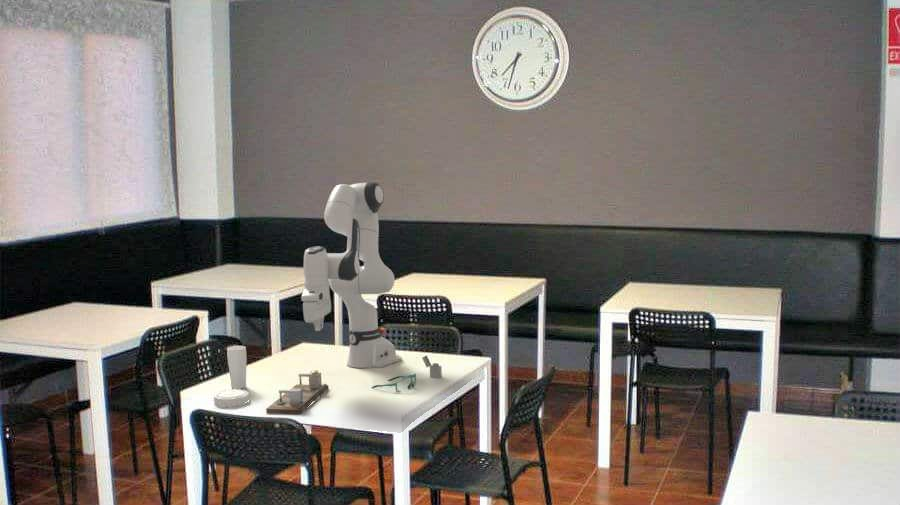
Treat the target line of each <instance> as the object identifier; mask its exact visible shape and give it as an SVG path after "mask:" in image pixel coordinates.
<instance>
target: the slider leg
mask: <svg viewBox="0 0 900 505" xmlns="http://www.w3.org/2000/svg"><path fill="white" fill-rule="evenodd" d="M310 371H311V370H310ZM302 377H308V385H309V388H320V387H321V386H322V385H323V383H322V372H319V370H312V371H311V372H310V373H298V378H299V384H300V385H303V383H302V382H303V381H302Z"/></svg>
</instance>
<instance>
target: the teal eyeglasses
mask: <svg viewBox="0 0 900 505" xmlns="http://www.w3.org/2000/svg"><path fill="white" fill-rule="evenodd" d="M416 375H417V374H416V373H414V374H407V375H398V376H395V377H392V378H389V379H387V382H390V381H393V380H394V381H395V380H397V379H400V380H398V381H395V382H392V383H385V384H375V385H373V386H371V388H372V389H375V388H383V387H394V388H395V392H396V393H400V392H401V390H398V383H399V382H402V381H404V380H407V379H409V378H410V382H409V384H408V385H407V389H408V390H411V388H415V386H417V384H416V382H417V376H416ZM413 378H414V380H413ZM413 381H414V382H413Z"/></svg>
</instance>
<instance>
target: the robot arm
mask: <svg viewBox="0 0 900 505" xmlns="http://www.w3.org/2000/svg"><path fill="white" fill-rule="evenodd" d="M383 202H384V190H383V188H382V186H381V185H380V184H379V183H378V182H374V181H367V182H356V183H353V184H346V183H342V184H341V183H340V184H337V185H336V186H335V187H334V188H333V189H332V190H331V192H330V194H329V197H328V199H327V202H326V206H325V209H324V214H323V219H324V222H325V224H326V226H327V227H328V228H329V229H330V230H331V231H332V232H335V233H337V234H340V235H343V236H345V237H347V241H346V251H344V252H341V253H339V252H338V253H337V252H336V253H335V252H333V253H332V252H331V253H330V252H327V249H326V248H325V247H324V246H320V245H318V246H312V247H311V246H310V247H309V248H308V247H307V249H305V250H304V254H303V274H304V279H305V280H304V290H303V292H302V294H301V296H300V298H301V299H300V300H301V301H302V302H303V303H302V312H303V320H304V321H305V323H308V324H313V325H314V331H315V332H320V331H321V330H322V329H323V328H324V320H325V316H327V315H328V314H330V313H331V311H332V300H331V295H330V289H331V290H332V292H333V293H335V294H336V295H338V296H339V297H340V298H341V300H342V301H343V303H344V305H345V307H346V309H347V314H348V323H349V328H348V340H349V349H348V350H349V351H348V359H347V364H346V365H347V367H348V366H349V367H352V368H357V369H358V368H360V369H364V368H365V369H368V368H377V369H378V368H382V367H385V366H388V365H391V364H394V363H396V362H398V361H402V360H403V359H402V358H403V357H402V356H401V355H399V354H397V353H396V348H395V345H394V344H393V343H392V342H391V341H390V340H388V339H386V338H385V337H383V335H382V334H386V332H387V329H386V328H384V327H381V328H380V327H378V326H379V323H378V310H377V308H376V307H375V306H374V304H372V303H369V302H368V301H366V300H365V299H364V297H363V295H380V294H385V293H386V294H387V293H389V292H391V291H392V289H393V287H394V286H395V280H396V279H395V274H394V273H393V271H392V269H390V268H389V267H388V266H387V265H385V264H384V262H383V260H382V258H381V257H380V252H379V230H380V228H379V227H380V225H379V216H378V212H379V211H380V208H381V206H382V204H383ZM360 261H362V262H363V265H360Z"/></svg>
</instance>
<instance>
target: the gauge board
mask: <svg viewBox="0 0 900 505" xmlns="http://www.w3.org/2000/svg"><path fill="white" fill-rule="evenodd" d="M291 389H302V390H303V401H305V400H306V399H307V398H308V397H309V396H310V395H311V394H313V393H314V392H315V391H316V390H317V389H318V388H309V384H302V385H300V383H299V384H295V385H294V386H292V388H290V389H289V390H291ZM328 390H329V385H328V384H327V386H326V387H325V388H324V389H323V390H321V391H320V392H319V393H318V394H317V395H316V396H315V397H314V398H312V399H311V400H310V401H309V402H308V403H307V404H306V405H305V406H303V407H302V408H301V409H298V406H294V405H290V396H289V393H283V394H282V402H280V397H279V398H278V399H277V400H275V401H274V402H273V403H272V404H270V405H269V406H267V408H266V409H265V412H266V413H265V414H283V415H285V414H286V415H301V414H303V413H304V412H306V410H307V409H308V408H309V407H310V406H311V405H310V404H311V403H312V402H313V401H315V400H316V399H317V398H318V397H319V396H320V397H322V396H323V395H324V394H325V393H326V392H328ZM324 392H325V393H324ZM323 393H324V394H323ZM322 394H323V395H322ZM321 395H322V396H321ZM320 397H319V398H320ZM319 398H318V399H319ZM318 399H317V400H318ZM317 400H316V401H317ZM316 401H315V402H316ZM309 405H310V406H309ZM308 406H309V407H308ZM307 407H308V408H307Z"/></svg>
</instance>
